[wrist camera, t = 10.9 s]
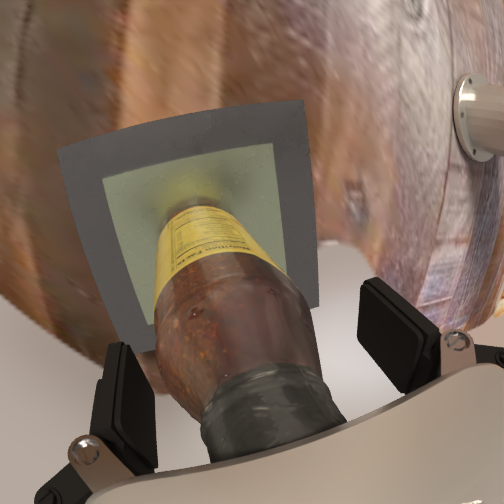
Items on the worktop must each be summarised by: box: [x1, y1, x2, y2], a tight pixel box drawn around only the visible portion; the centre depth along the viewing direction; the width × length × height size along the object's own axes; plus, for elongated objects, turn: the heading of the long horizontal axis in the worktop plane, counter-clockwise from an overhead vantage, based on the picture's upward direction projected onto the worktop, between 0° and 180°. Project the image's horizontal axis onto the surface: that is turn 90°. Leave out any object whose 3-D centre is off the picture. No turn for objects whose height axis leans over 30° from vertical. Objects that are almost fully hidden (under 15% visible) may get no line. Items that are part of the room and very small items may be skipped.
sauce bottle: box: [154, 205, 347, 463], centre depth 13 cm, size 7×6×20 cm
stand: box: [57, 100, 319, 354], centre depth 24 cm, size 18×18×4 cm
